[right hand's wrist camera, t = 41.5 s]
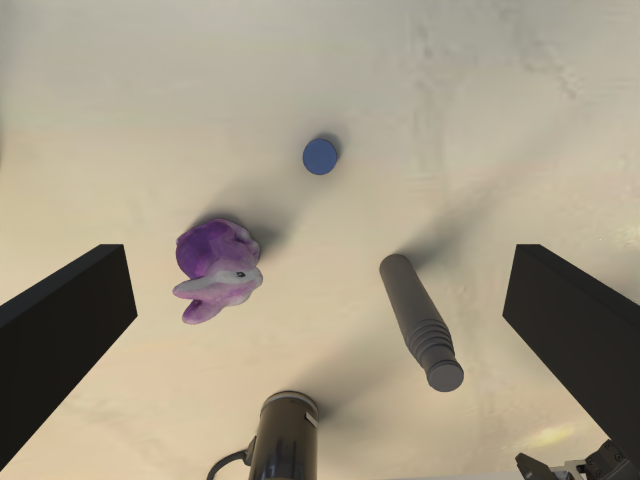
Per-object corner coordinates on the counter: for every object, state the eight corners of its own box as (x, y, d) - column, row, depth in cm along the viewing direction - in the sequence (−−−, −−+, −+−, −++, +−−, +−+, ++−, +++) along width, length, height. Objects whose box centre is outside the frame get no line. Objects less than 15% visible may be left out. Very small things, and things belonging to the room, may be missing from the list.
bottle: (402, 248, 49) (461, 348, 29) (415, 273, 50) (481, 386, 30) (374, 263, 50) (411, 371, 29) (387, 287, 51) (433, 406, 31)
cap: (316, 178, 46) (316, 181, 44) (296, 152, 45) (295, 154, 43) (342, 158, 45) (343, 161, 43) (323, 132, 44) (323, 132, 42)
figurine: (278, 254, 49) (262, 313, 35) (218, 288, 51) (179, 357, 37) (239, 197, 46) (203, 235, 32) (176, 235, 48) (117, 287, 34)
